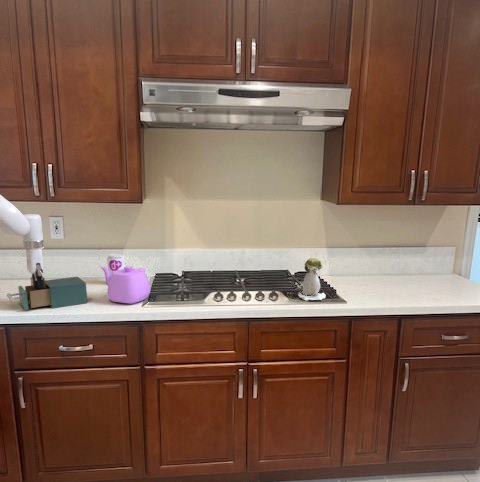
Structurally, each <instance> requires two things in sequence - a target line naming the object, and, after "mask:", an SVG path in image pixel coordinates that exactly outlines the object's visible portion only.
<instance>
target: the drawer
mask: <svg viewBox="0 0 480 482" xmlns="http://www.w3.org/2000/svg"><path fill="white" fill-rule="evenodd" d="M45 288H46V289H43V290H36V291H34V290H33V289H32V288H31V285H25V286H24V287H23V286H22V285H18V286H17V289H18V293H7V294H6V297H7V298H8V300H9V301H10V302H13V301H15V300H19V304H20V305H21V306H22V308H23V309H24V310H25V311H27V310H28V311H29V307H30V308H31V309H32V308H40V307H46V306H49V305H51V298H50V289H49V288H48V287H47V286H46V285H45ZM13 296H14V297H13ZM15 296H18V297H15Z"/></svg>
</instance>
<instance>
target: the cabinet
mask: <svg viewBox="0 0 480 482" xmlns="http://www.w3.org/2000/svg"><path fill="white" fill-rule="evenodd" d="M45 285H46V286H47V287H48V288H49V289H50V298H51V305H48V306H49V307H50V308H51V309H58V308H65V307H72V306H77V305H85V304H88V293H87V292H88V291H87V282H86V281H85V280H83V279H82V278H80V277H78V276H72V277H71V276H70V277H64V278H63V277H62V278H55V279H45Z"/></svg>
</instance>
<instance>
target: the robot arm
mask: <svg viewBox="0 0 480 482" xmlns="http://www.w3.org/2000/svg"><path fill="white" fill-rule="evenodd" d="M0 231H1V232H2V233H4V234H7V235H12V236H16V237H22V242H23V243H22V244H23V250H25V256H26V257H25V258H26V269H27V271H28V272H29V274H31V277H35V289H36V290H43V289H44V284H43V277H44V276H43V274H44V272H45V266H44V265H45V263H44V257H43V249H45V241H44V234H43V222H42V216H41V215H40V214H38V213H24V214H23V213H22V212H21V211H20V210H19V209H18V208H17V207H16V206H15V205H14V204H13V203H12V202H10V201H9V200H8V199H7V198H6V197H4V196H2V194H0Z"/></svg>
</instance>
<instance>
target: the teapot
mask: <svg viewBox="0 0 480 482" xmlns="http://www.w3.org/2000/svg"><path fill="white" fill-rule="evenodd" d="M99 268H100V269H101V270H102V271H103V272H104V273H103V274H104V277H105V283H106V285H107V297H108V298H109V300H110V301H111V302H114V303H115V302H116V303H121V304H129V305H135V304H137V303H139V302H141V301H144V300H146V299H147V298H148V297H149V295H150V293H151V284H150V280H149V278H148V276H147V274H146V269H145V268H144V267H140V268H133V266H132V265H125V267H124V269H121V270H118V271H115V272H113V273H112V275H111V274H110V272H109V270H108V267H106V266H100V265H99Z"/></svg>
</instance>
